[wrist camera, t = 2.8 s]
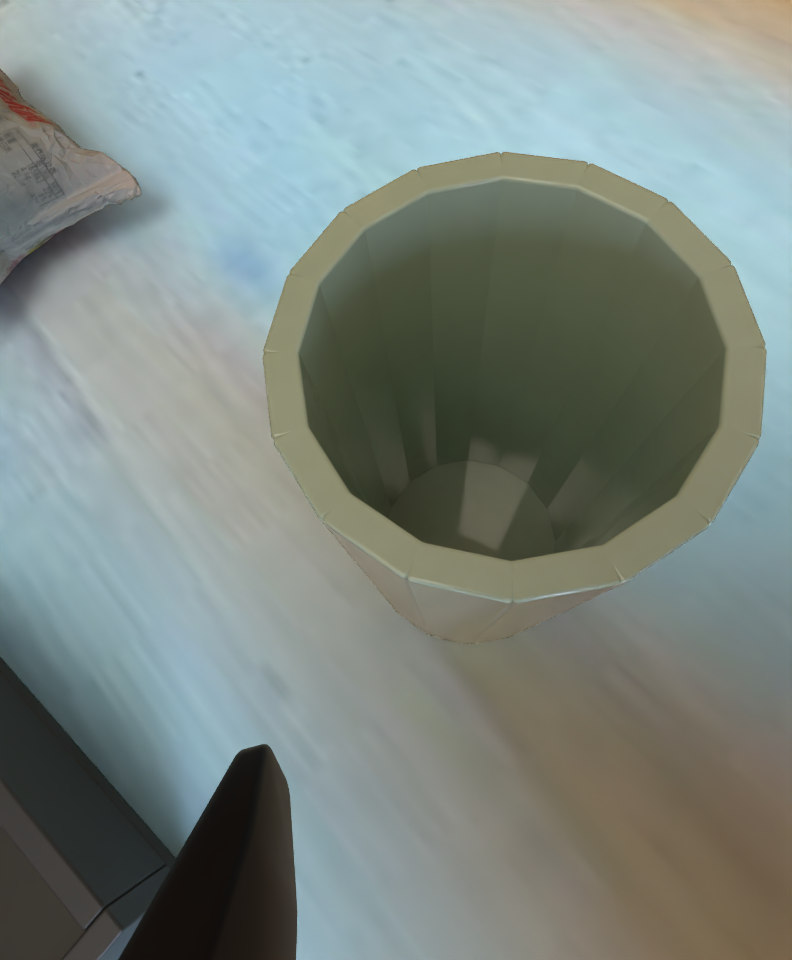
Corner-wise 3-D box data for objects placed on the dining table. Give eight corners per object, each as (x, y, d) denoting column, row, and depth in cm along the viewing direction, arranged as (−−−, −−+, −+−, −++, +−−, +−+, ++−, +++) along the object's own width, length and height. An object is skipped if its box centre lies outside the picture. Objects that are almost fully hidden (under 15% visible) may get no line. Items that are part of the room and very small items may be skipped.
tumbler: (549, 664, 19) (749, 656, 7) (352, 618, 20) (201, 535, 7) (578, 472, 21) (779, 183, 8) (396, 438, 22) (332, 129, 9)
